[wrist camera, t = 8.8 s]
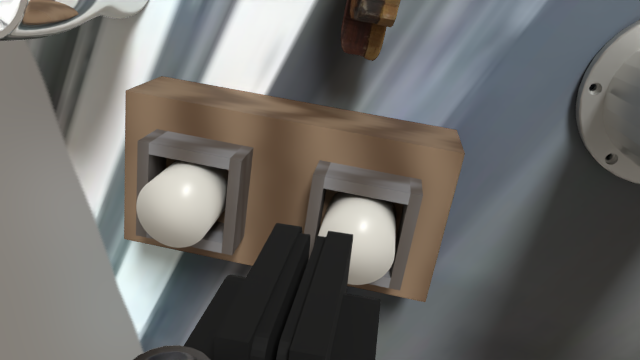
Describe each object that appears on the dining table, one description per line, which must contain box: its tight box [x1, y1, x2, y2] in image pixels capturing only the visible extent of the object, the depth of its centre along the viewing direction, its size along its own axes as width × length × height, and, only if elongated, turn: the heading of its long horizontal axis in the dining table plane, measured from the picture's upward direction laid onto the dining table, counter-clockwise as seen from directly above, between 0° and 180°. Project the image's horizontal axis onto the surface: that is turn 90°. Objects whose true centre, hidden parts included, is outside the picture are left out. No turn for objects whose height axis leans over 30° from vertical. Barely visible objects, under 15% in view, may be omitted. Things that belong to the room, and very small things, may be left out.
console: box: [124, 76, 465, 302], centre depth 40 cm, size 24×12×9 cm, turn 81°
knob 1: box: [136, 160, 229, 248], centre depth 36 cm, size 5×5×5 cm
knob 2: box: [318, 192, 396, 285], centre depth 35 cm, size 5×5×5 cm
